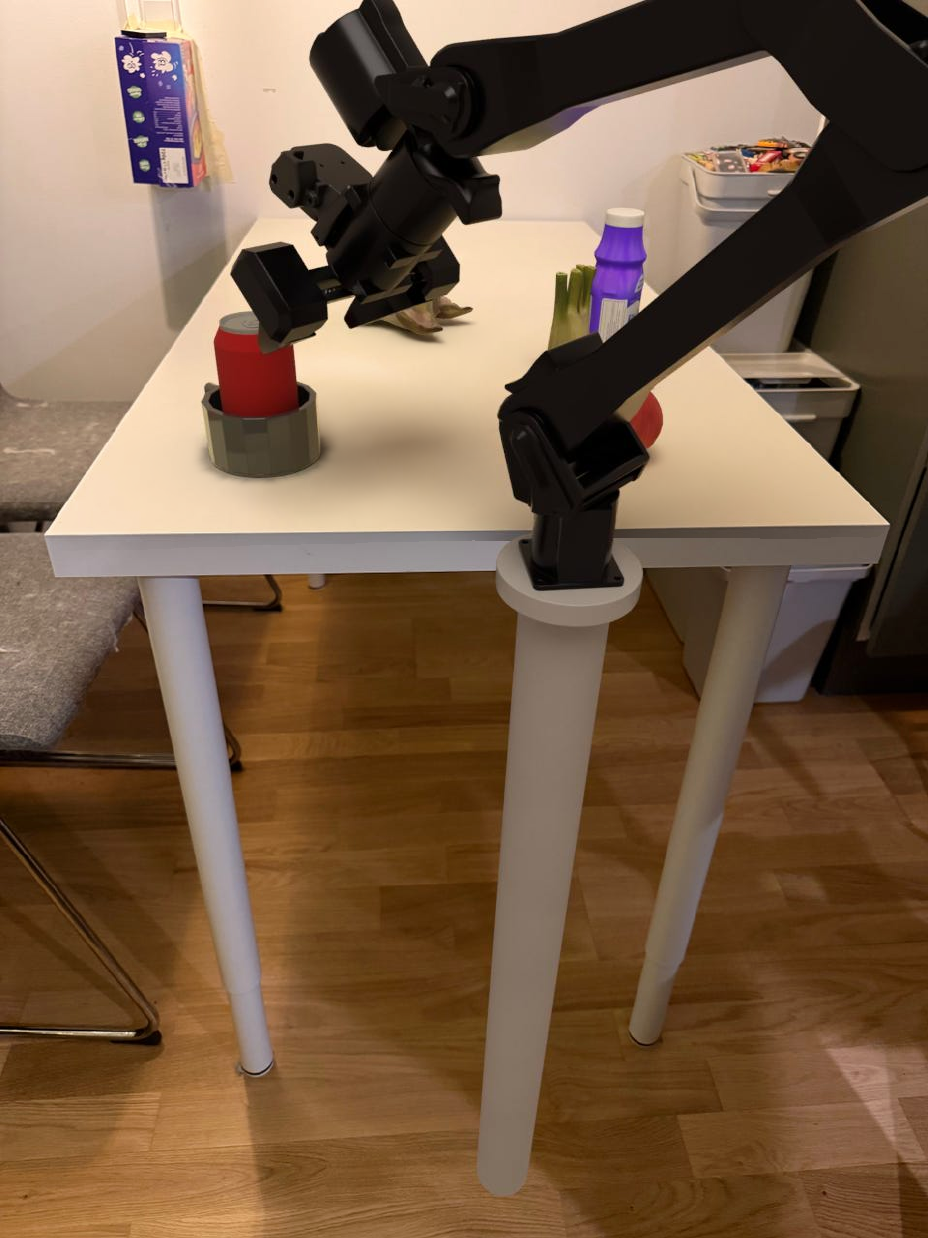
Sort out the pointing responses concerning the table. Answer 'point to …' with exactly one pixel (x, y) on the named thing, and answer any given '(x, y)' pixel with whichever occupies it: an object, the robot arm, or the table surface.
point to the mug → (262, 436)
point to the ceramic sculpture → (427, 316)
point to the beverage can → (252, 370)
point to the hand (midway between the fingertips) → (306, 335)
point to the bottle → (617, 272)
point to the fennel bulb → (571, 305)
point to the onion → (648, 421)
